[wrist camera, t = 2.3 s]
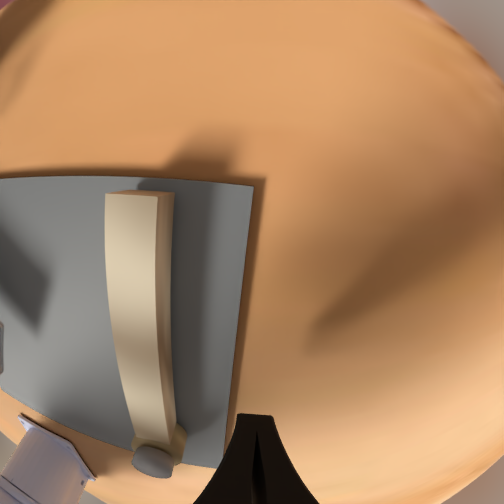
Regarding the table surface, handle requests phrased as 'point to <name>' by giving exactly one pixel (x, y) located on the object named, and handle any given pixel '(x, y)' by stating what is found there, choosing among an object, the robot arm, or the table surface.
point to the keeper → (1, 347)
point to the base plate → (98, 315)
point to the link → (143, 312)
